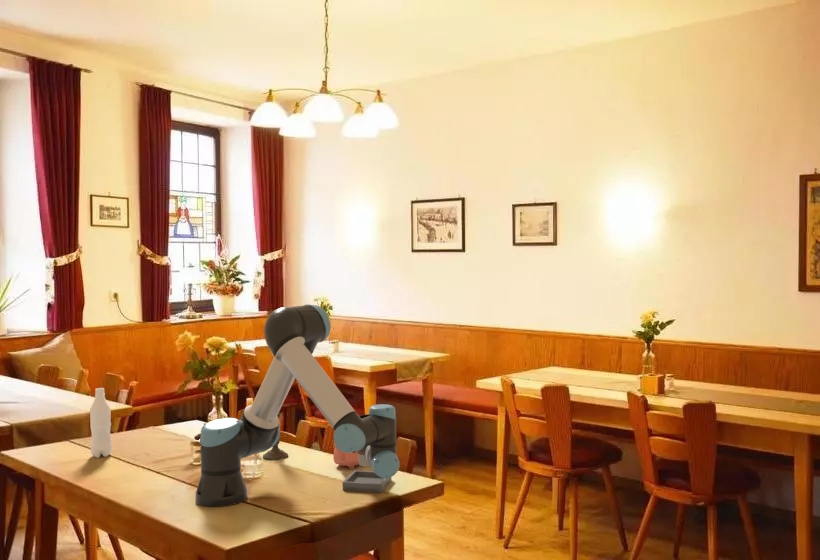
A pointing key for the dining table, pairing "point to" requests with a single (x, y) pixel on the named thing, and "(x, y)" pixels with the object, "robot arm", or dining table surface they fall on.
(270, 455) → the candlestick holder
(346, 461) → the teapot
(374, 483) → the tray
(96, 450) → the water bottle
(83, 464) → the dining table surface
